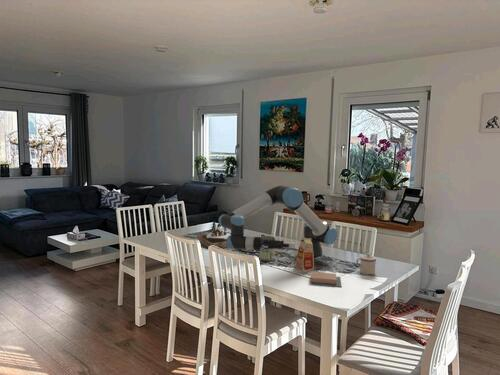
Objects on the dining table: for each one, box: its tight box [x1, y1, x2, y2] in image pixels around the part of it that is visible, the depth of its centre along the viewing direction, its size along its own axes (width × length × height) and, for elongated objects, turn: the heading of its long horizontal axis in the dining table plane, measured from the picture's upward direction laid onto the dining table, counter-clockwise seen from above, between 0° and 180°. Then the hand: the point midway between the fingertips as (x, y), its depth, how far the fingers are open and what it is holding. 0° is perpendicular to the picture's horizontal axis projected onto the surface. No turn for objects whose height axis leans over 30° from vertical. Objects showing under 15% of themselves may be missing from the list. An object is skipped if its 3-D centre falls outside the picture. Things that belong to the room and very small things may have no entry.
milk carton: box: [294, 236, 315, 272], centre depth 232 cm, size 9×9×20 cm
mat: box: [311, 276, 342, 288], centre depth 211 cm, size 16×15×1 cm
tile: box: [310, 271, 337, 284], centre depth 211 cm, size 3×10×14 cm
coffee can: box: [259, 235, 276, 262], centre depth 251 cm, size 10×10×14 cm
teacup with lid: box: [356, 253, 377, 275], centre depth 228 cm, size 12×9×12 cm
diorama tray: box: [196, 231, 231, 249], centre depth 291 cm, size 28×28×4 cm
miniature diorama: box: [205, 220, 231, 243], centre depth 290 cm, size 20×20×17 cm
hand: (294, 245), depth 212 cm, fingers closed
